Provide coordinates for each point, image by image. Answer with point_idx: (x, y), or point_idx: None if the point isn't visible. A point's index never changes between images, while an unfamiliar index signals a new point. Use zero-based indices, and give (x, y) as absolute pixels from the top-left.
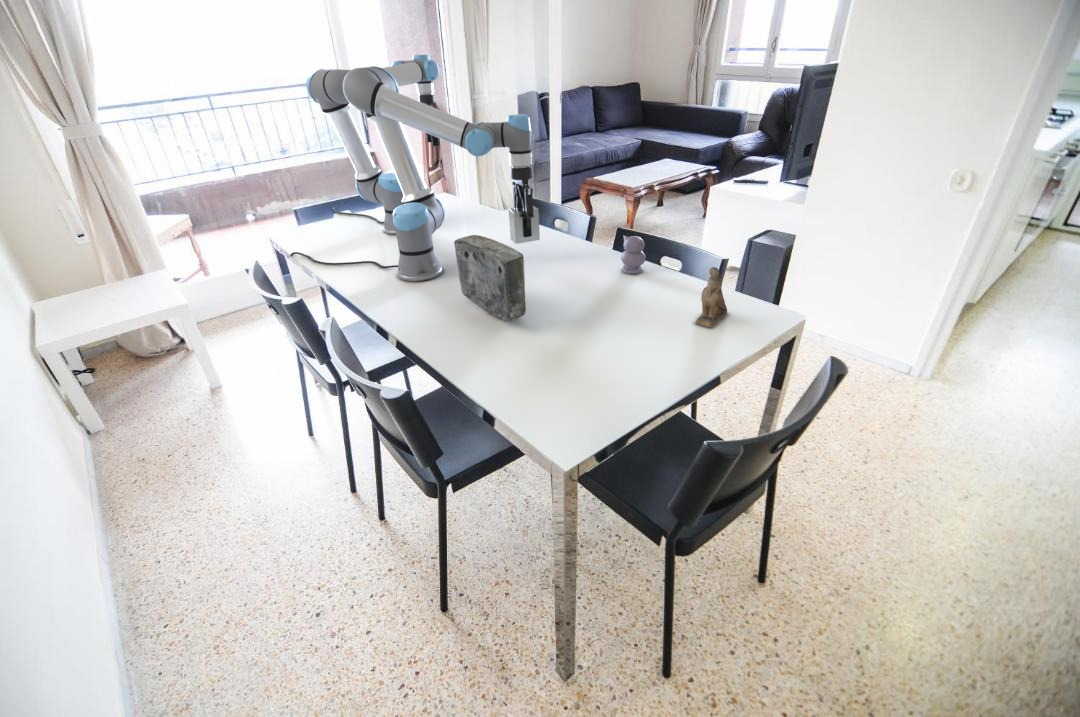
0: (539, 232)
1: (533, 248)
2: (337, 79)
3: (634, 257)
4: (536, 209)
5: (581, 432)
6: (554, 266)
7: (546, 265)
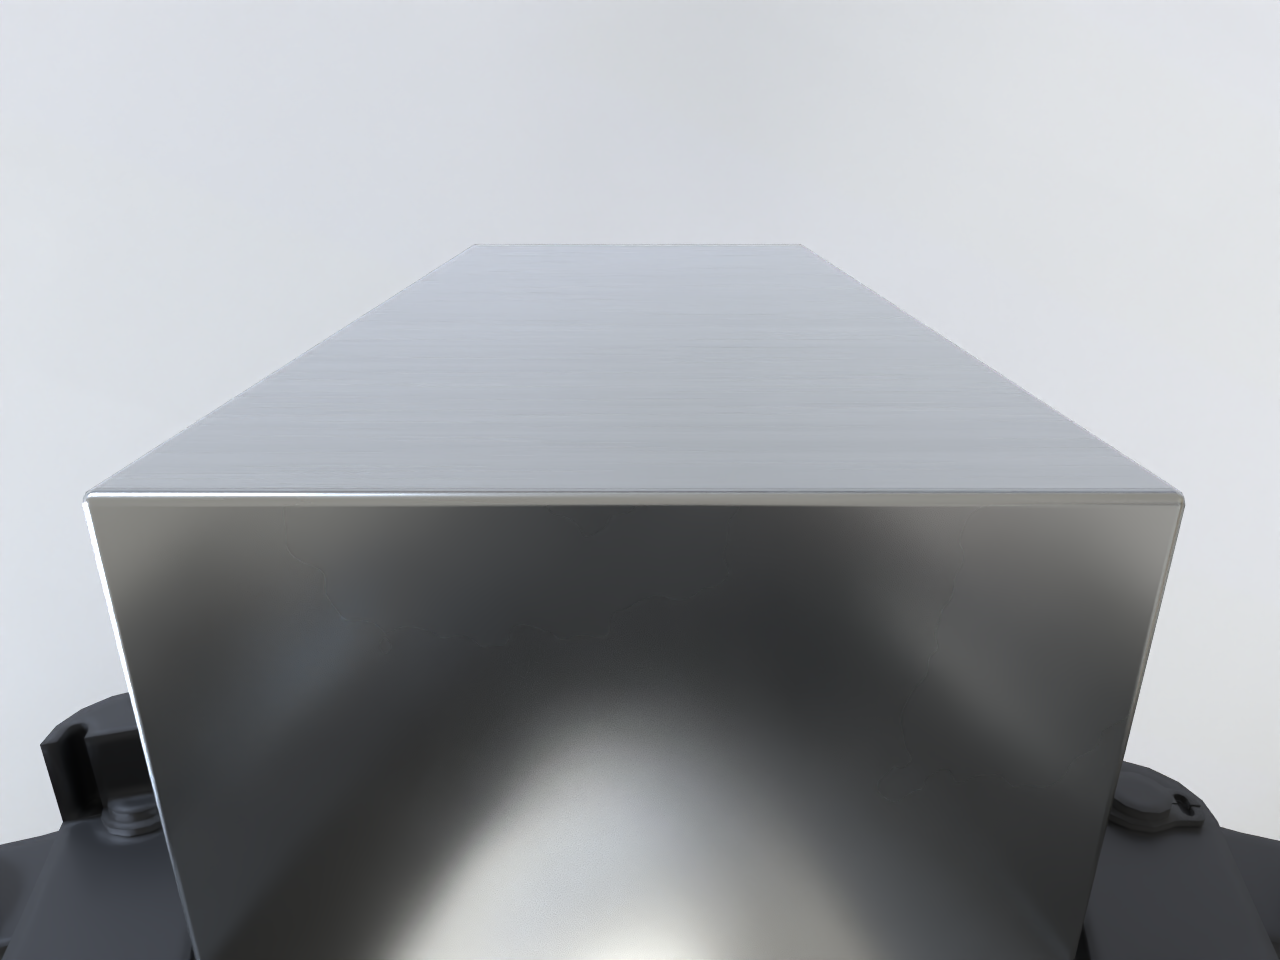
0: (835, 267)
1: (139, 71)
2: None
3: None
4: (1152, 635)
5: None
6: (1034, 99)
7: (930, 192)
